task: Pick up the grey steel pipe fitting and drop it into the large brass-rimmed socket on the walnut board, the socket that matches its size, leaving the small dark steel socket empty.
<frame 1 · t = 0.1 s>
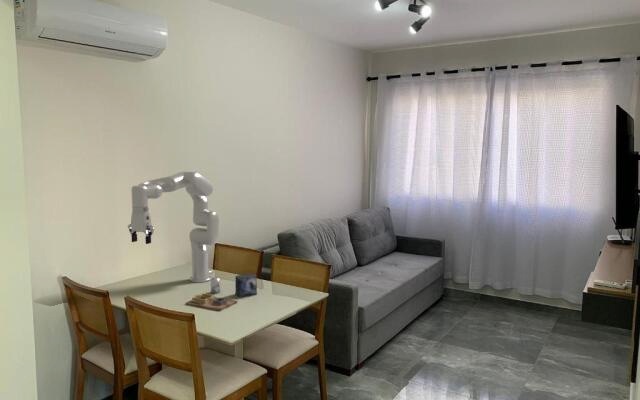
hand: (141, 242, 249), 31 cm above the table, tool pointing down, fingers open, 9 cm apart
pipe fitting: (215, 292, 268), on the table
fitting board: (211, 303, 249), on the table
small box: (246, 294, 265), on the table
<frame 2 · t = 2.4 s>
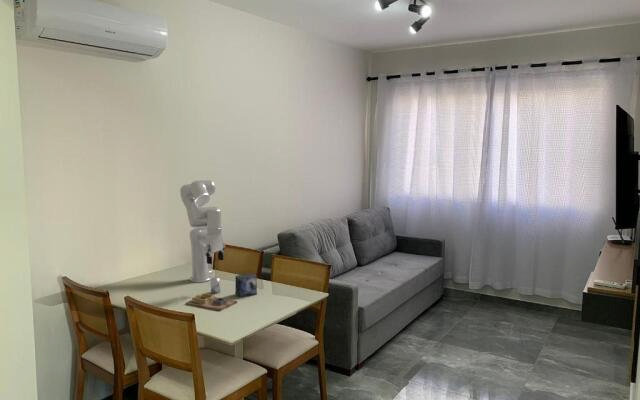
hand: (215, 261, 266), 17 cm above the table, tool pointing down, fingers open, 9 cm apart
nothing on the table moved.
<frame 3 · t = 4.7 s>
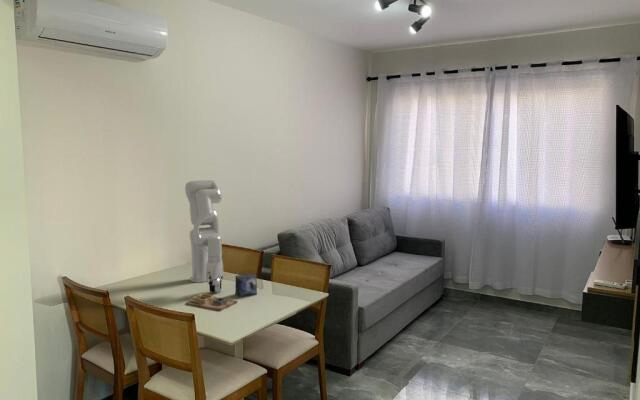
hand: (215, 289, 268), 1 cm above the table, tool pointing down, fingers closed on pipe fitting, 5 cm apart
pipe fitting: (215, 292, 268), on the table, touching gripper
everything else where it was.
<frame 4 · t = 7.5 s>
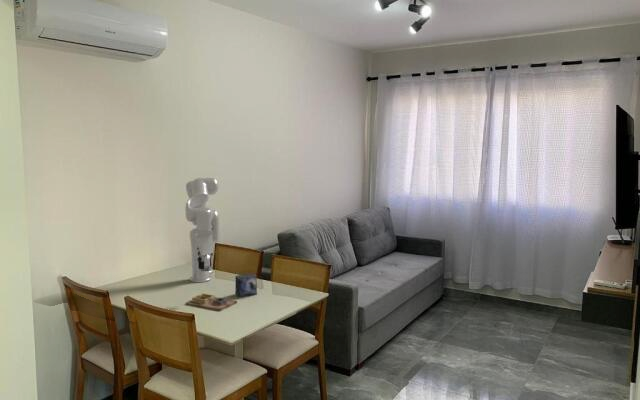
hand: (205, 267, 252), 18 cm above the table, tool pointing down, fingers closed on pipe fitting, 5 cm apart
pipe fitting: (205, 270, 252), point 17 cm above the table, touching gripper
everything else where it was.
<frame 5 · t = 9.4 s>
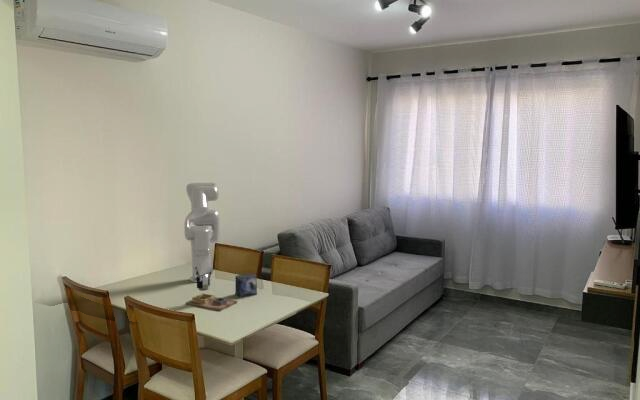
hand: (203, 286, 250), 8 cm above the table, tool pointing down, fingers closed on pipe fitting, 5 cm apart
pipe fitting: (203, 289, 251), point 7 cm above the table, touching gripper
everything else where it was.
when the fingers open (5 cm above the table, at t = 10.5 s): pipe fitting drops 2 cm, resting on fitting board.
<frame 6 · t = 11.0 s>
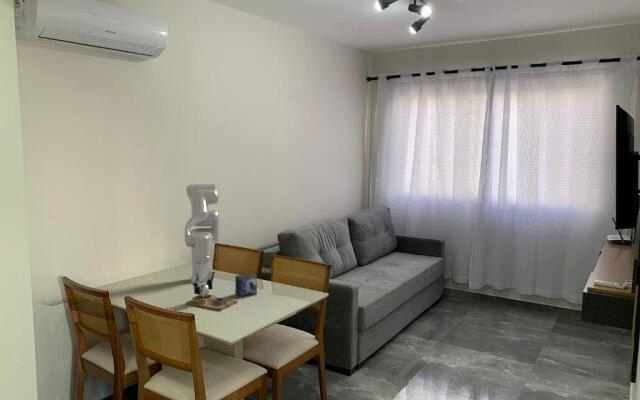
hand: (203, 291, 251), 6 cm above the table, tool pointing down, fingers open, 9 cm apart
pipe fitting: (203, 300, 251), point 1 cm above the table, touching fitting board
everything else where it was.
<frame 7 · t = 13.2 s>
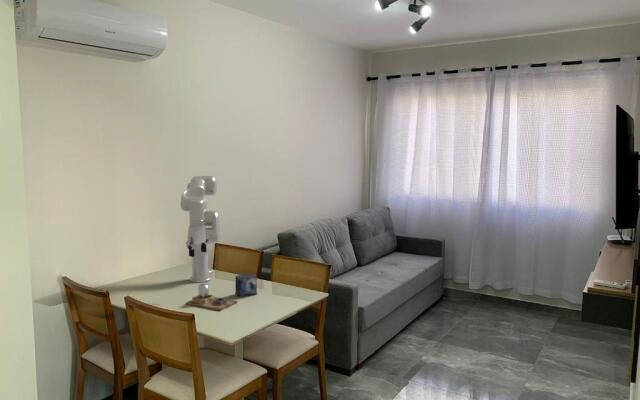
hand: (197, 254, 258), 23 cm above the table, tool pointing down, fingers open, 9 cm apart
nothing on the table moved.
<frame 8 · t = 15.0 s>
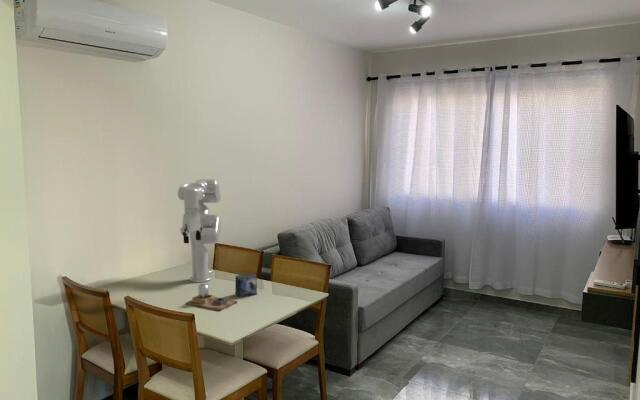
hand: (192, 241, 266), 28 cm above the table, tool pointing down, fingers open, 9 cm apart
nothing on the table moved.
at the end: pipe fitting 0.1 cm from the target spot on the fitting board, point 1.1 cm above the fitting board's base; pipe fitting tilted 1°; the gripper is holding nothing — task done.
